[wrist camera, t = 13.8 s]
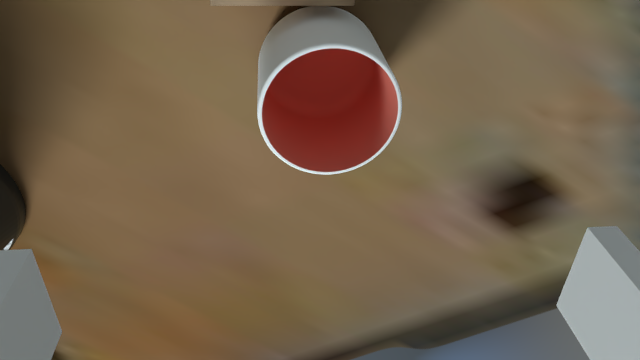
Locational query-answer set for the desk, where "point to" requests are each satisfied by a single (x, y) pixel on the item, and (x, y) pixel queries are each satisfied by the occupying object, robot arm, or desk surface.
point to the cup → (325, 92)
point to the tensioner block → (282, 2)
